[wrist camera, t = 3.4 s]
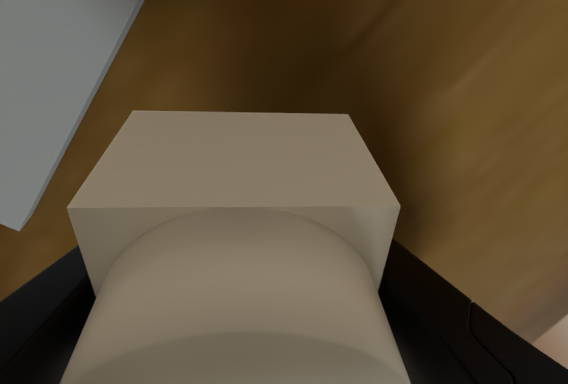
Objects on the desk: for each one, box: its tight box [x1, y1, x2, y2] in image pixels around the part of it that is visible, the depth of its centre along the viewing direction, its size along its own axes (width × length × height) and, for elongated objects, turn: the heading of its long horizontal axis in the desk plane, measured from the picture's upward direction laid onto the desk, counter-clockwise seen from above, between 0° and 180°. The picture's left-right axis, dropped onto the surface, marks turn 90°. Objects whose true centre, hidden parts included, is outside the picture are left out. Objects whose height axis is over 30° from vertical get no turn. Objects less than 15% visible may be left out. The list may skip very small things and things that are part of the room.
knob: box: [60, 111, 411, 384], centre depth 8 cm, size 5×5×6 cm
